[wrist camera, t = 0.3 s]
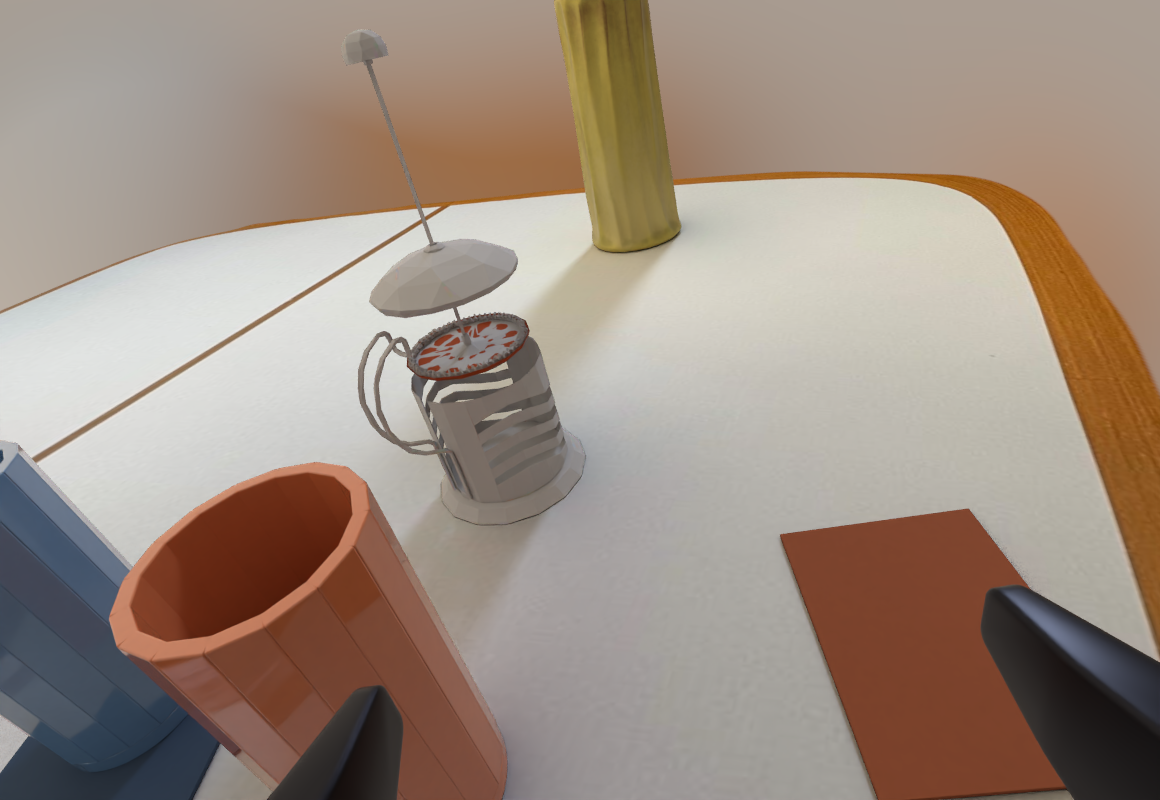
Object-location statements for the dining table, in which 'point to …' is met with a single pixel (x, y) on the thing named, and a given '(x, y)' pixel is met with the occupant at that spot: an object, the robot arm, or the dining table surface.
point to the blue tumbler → (67, 630)
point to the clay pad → (919, 654)
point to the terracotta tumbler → (305, 631)
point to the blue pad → (114, 771)
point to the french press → (471, 370)
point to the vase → (619, 122)
